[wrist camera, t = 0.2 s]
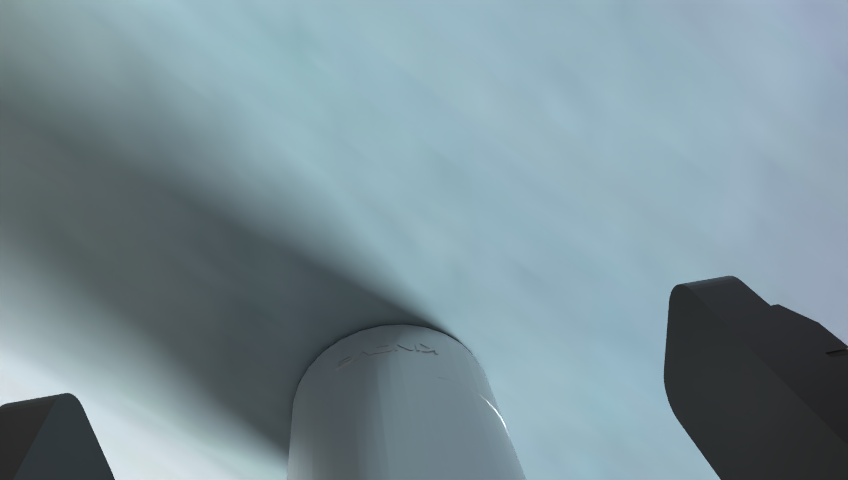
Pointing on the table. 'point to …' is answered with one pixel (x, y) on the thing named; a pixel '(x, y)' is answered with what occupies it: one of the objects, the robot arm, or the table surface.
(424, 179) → the table surface
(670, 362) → the robot arm
